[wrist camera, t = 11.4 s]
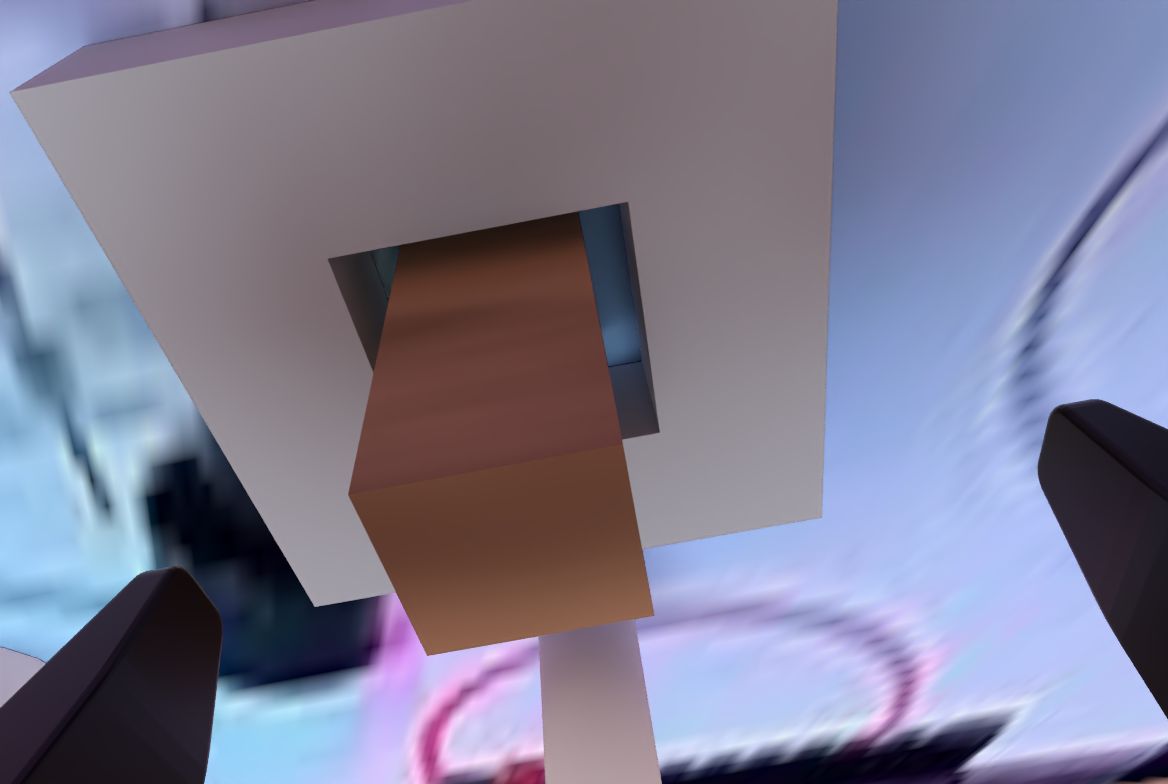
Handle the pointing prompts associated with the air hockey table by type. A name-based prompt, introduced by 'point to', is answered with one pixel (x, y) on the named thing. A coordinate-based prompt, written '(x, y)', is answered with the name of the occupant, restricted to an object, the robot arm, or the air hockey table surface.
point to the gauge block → (463, 204)
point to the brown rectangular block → (498, 443)
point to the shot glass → (15, 672)
